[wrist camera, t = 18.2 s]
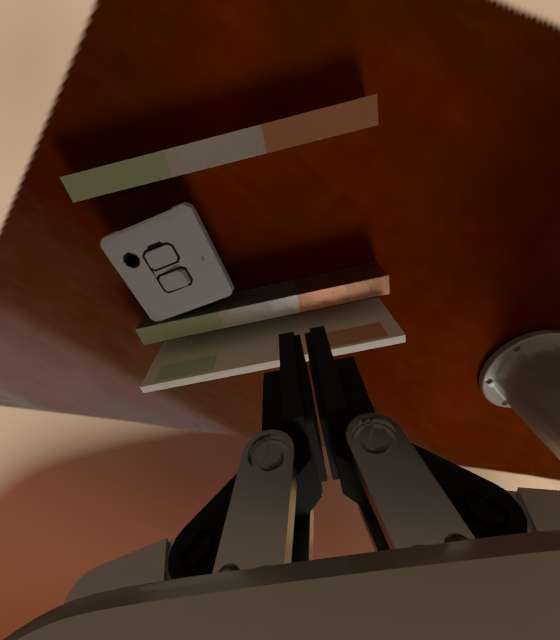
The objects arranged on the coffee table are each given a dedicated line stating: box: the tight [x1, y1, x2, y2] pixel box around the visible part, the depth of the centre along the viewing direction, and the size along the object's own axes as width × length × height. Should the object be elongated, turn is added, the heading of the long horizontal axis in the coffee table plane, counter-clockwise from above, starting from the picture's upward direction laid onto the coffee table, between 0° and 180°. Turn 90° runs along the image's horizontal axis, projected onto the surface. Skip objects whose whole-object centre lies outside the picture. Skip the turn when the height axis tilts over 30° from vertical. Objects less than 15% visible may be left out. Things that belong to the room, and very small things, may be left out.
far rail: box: [135, 262, 390, 345], centre depth 32 cm, size 26×2×4 cm, turn 103°
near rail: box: [60, 94, 378, 202], centre depth 26 cm, size 26×2×3 cm, turn 103°
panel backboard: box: [140, 297, 406, 393], centre depth 32 cm, size 26×1×8 cm, turn 103°
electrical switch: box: [100, 202, 234, 322], centre depth 30 cm, size 9×5×9 cm
